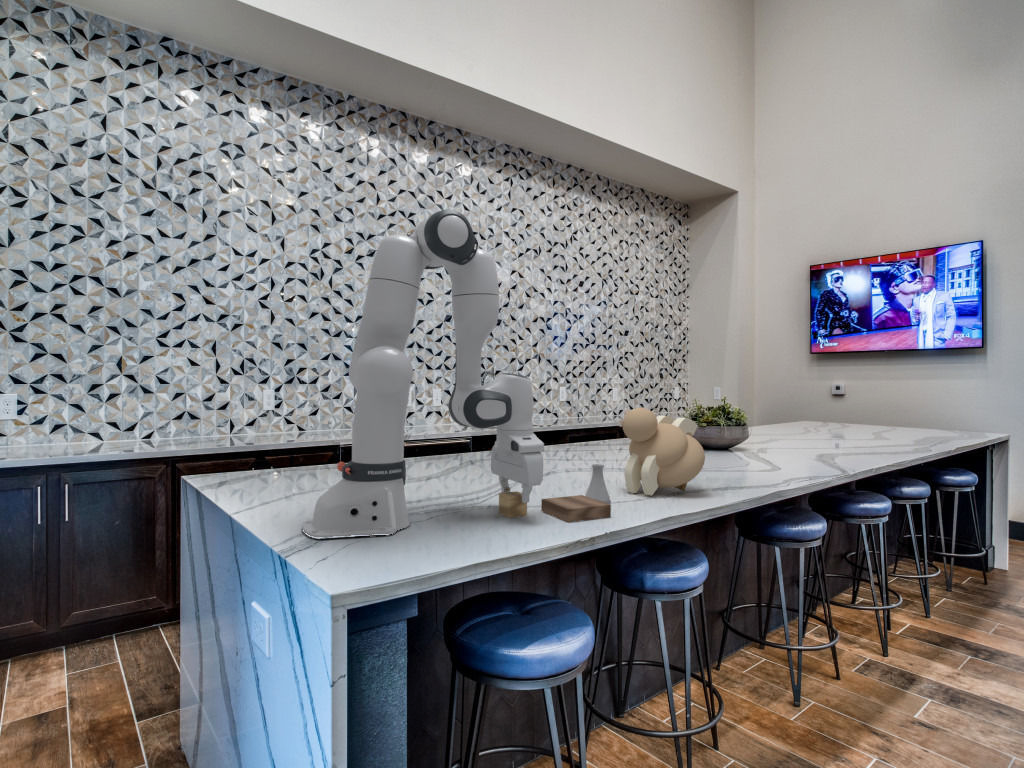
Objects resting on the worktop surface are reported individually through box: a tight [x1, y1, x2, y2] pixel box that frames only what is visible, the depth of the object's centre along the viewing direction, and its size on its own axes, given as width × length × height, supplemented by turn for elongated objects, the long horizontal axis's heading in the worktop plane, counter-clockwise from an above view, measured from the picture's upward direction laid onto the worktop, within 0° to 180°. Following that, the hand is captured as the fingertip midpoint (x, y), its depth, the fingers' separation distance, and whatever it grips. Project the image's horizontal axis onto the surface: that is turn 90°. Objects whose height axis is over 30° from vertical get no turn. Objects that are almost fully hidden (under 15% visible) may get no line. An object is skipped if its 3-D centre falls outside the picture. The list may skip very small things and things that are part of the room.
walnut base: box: [541, 494, 612, 523], centre depth 141 cm, size 12×12×3 cm
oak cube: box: [498, 491, 528, 519], centre depth 139 cm, size 5×5×5 cm
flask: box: [584, 463, 612, 504], centre depth 154 cm, size 7×7×10 cm
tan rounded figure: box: [617, 407, 706, 496], centre depth 169 cm, size 30×28×23 cm
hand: (515, 498), depth 140 cm, fingers open, 8 cm apart
